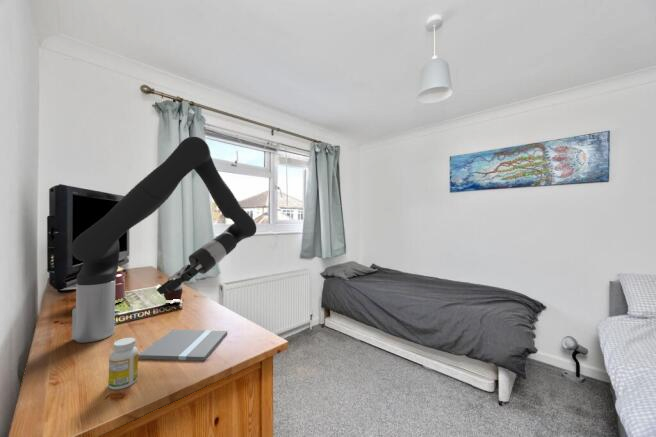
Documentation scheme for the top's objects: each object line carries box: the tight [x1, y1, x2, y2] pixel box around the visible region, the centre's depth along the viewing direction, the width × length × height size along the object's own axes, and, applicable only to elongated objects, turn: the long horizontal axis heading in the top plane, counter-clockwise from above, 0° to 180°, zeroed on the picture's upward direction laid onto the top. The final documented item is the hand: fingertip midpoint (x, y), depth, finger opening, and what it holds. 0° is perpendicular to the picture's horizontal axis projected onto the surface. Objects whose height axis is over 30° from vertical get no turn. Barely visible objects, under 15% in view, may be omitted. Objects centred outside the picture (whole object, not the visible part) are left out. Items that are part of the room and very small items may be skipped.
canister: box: [115, 265, 127, 300], centre depth 113 cm, size 13×13×18 cm
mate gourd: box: [163, 284, 183, 301], centre depth 115 cm, size 8×8×15 cm
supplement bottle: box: [108, 337, 139, 391], centre depth 61 cm, size 5×5×10 cm
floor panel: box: [138, 329, 228, 362], centre depth 79 cm, size 18×16×1 cm
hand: (163, 291), depth 75 cm, fingers open, 8 cm apart
